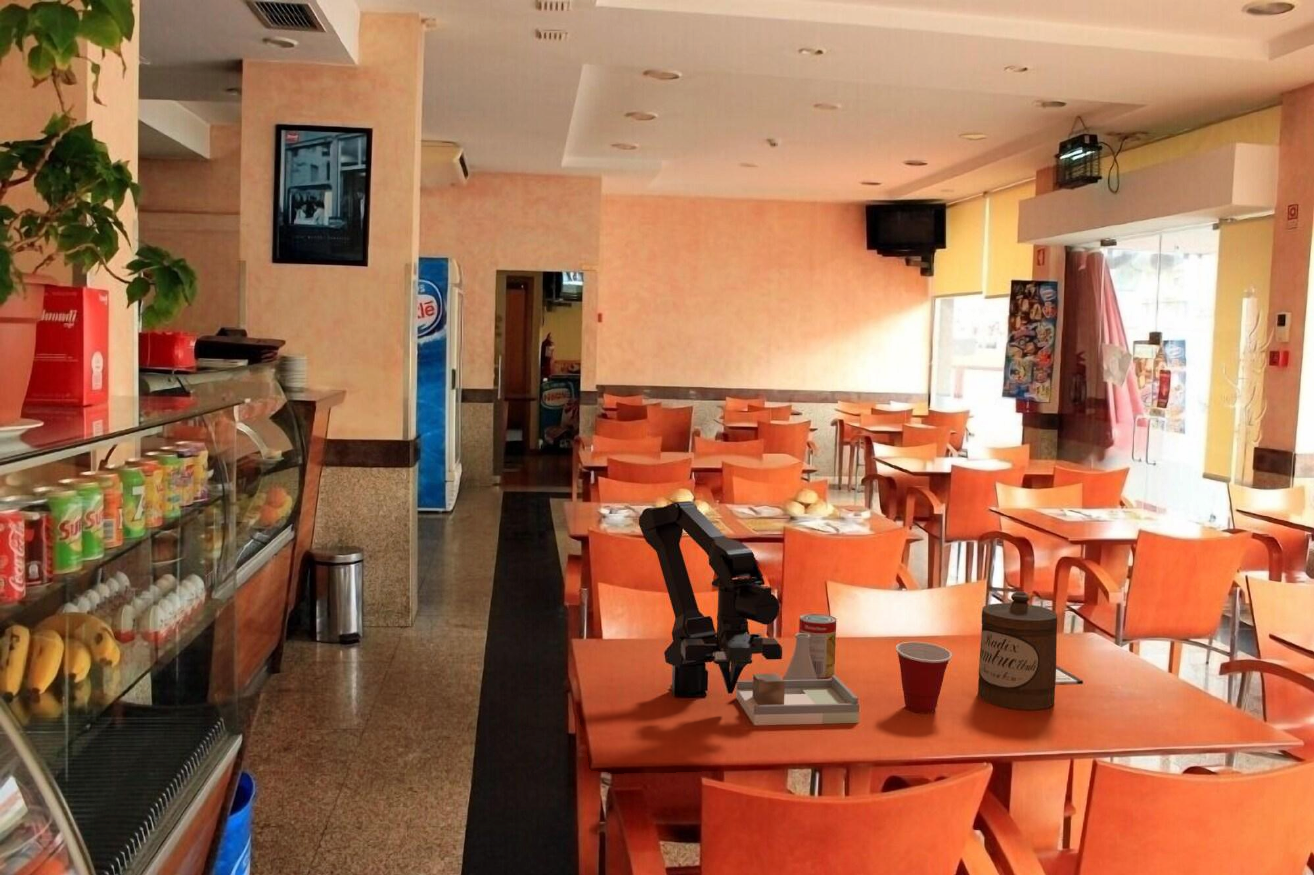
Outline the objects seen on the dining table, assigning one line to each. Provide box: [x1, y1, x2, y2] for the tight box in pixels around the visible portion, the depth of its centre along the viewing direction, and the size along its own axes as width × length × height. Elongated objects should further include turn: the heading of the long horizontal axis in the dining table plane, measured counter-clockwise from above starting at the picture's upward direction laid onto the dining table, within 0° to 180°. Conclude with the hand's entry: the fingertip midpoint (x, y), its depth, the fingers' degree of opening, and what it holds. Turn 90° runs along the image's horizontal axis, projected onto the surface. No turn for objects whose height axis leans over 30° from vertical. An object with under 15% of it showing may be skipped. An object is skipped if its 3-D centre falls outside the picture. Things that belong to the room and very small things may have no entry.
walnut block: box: [752, 673, 785, 705], centre depth 216 cm, size 5×5×4 cm
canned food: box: [798, 613, 838, 679], centre depth 242 cm, size 8×8×12 cm
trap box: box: [735, 674, 860, 726], centre depth 217 cm, size 20×16×4 cm
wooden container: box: [977, 590, 1058, 711], centre depth 227 cm, size 15×15×22 cm
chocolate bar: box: [1055, 665, 1084, 685], centre depth 248 cm, size 9×1×18 cm
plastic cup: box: [895, 641, 953, 714], centre depth 219 cm, size 11×11×12 cm
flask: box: [783, 632, 818, 680], centre depth 236 cm, size 7×7×10 cm
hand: (729, 692), depth 215 cm, fingers closed
